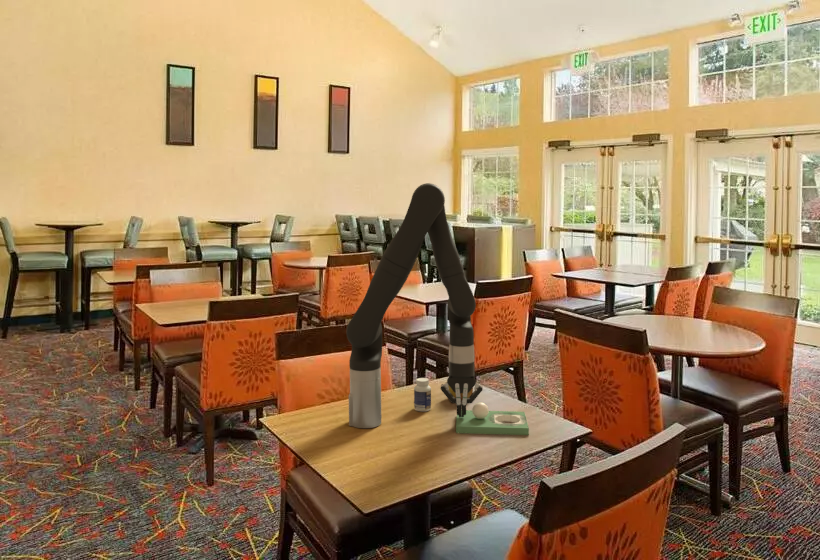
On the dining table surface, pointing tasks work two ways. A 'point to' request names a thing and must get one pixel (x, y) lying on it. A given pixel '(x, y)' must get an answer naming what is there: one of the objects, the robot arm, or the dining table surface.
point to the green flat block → (493, 423)
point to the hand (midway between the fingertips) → (461, 416)
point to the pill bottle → (422, 395)
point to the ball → (480, 410)
